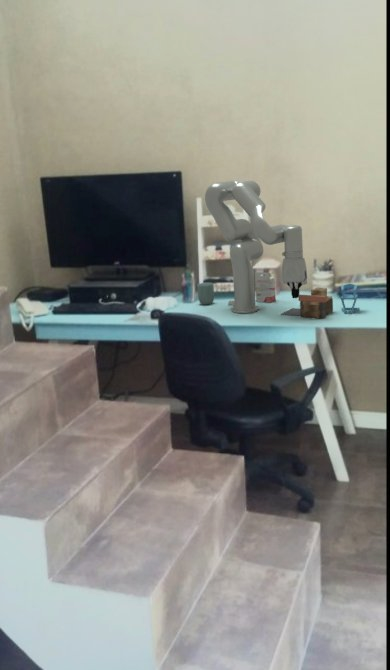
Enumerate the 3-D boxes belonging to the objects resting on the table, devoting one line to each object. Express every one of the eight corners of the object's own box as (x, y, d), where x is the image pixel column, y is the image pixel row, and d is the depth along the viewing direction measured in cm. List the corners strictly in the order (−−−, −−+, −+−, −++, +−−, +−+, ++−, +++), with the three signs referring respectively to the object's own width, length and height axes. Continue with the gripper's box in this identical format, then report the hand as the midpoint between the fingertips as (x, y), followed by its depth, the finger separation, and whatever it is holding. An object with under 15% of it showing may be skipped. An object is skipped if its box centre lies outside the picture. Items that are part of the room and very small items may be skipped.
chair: (339, 314, 277) (338, 286, 274) (341, 309, 284) (341, 282, 281) (357, 314, 274) (357, 286, 271) (359, 309, 282) (359, 282, 279)
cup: (217, 302, 317) (216, 282, 315) (209, 306, 311) (207, 285, 309) (204, 301, 322) (202, 282, 319) (195, 305, 315) (194, 285, 313)
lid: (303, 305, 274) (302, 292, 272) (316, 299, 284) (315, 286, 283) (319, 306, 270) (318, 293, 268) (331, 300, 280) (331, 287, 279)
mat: (280, 314, 283) (280, 313, 283) (292, 308, 293) (292, 308, 292) (301, 316, 277) (301, 315, 277) (312, 310, 287) (312, 309, 287)
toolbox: (300, 317, 276) (299, 301, 274) (313, 310, 287) (313, 295, 285) (322, 319, 270) (322, 303, 268) (335, 311, 281) (335, 296, 279)
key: (298, 300, 275) (298, 295, 274) (300, 300, 276) (300, 294, 276) (324, 302, 268) (324, 296, 268) (326, 301, 270) (326, 296, 269)
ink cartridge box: (276, 300, 312) (274, 270, 308) (271, 303, 308) (270, 272, 304) (260, 299, 316) (259, 270, 313) (255, 302, 313) (254, 272, 309)
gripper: (274, 256, 273) (276, 298, 278) (306, 256, 265) (307, 300, 269) (282, 253, 279) (283, 295, 283) (313, 254, 271) (315, 296, 275)
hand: (295, 297), depth 276 cm, fingers closed
